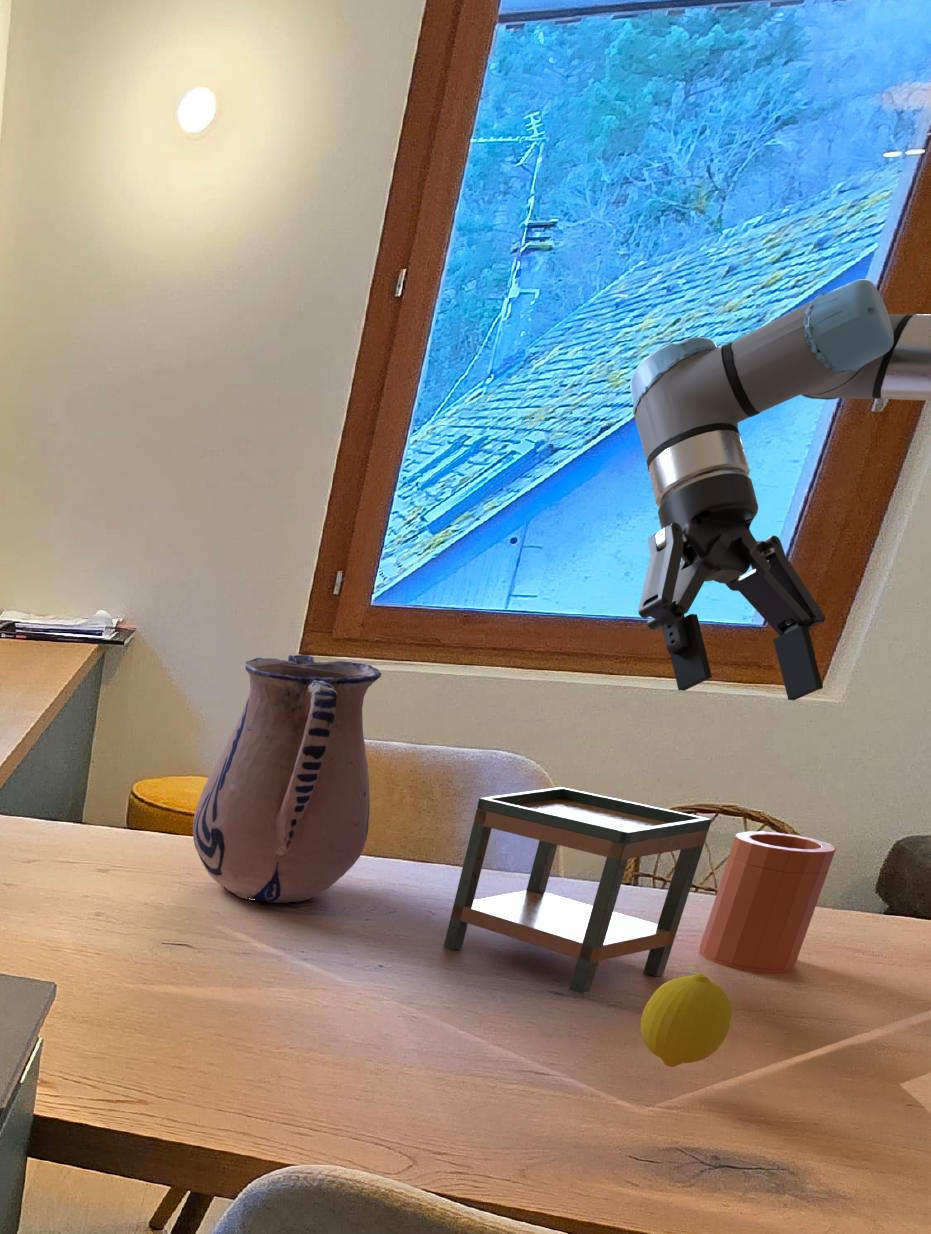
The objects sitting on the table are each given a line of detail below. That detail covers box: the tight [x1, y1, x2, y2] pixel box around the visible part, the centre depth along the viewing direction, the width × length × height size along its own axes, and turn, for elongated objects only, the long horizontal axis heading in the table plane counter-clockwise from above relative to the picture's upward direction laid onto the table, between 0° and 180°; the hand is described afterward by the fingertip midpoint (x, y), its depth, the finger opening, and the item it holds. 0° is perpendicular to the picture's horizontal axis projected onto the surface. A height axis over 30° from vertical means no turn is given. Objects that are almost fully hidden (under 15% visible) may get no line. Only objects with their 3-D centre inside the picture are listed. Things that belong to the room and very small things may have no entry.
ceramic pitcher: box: [192, 654, 382, 904], centre depth 140 cm, size 18×21×25 cm
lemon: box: [640, 972, 732, 1068], centre depth 103 cm, size 6×6×8 cm
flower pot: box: [698, 830, 837, 975], centre depth 125 cm, size 7×7×12 cm
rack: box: [443, 786, 713, 995], centre depth 124 cm, size 14×12×15 cm
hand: (751, 689), depth 125 cm, fingers open, 13 cm apart
